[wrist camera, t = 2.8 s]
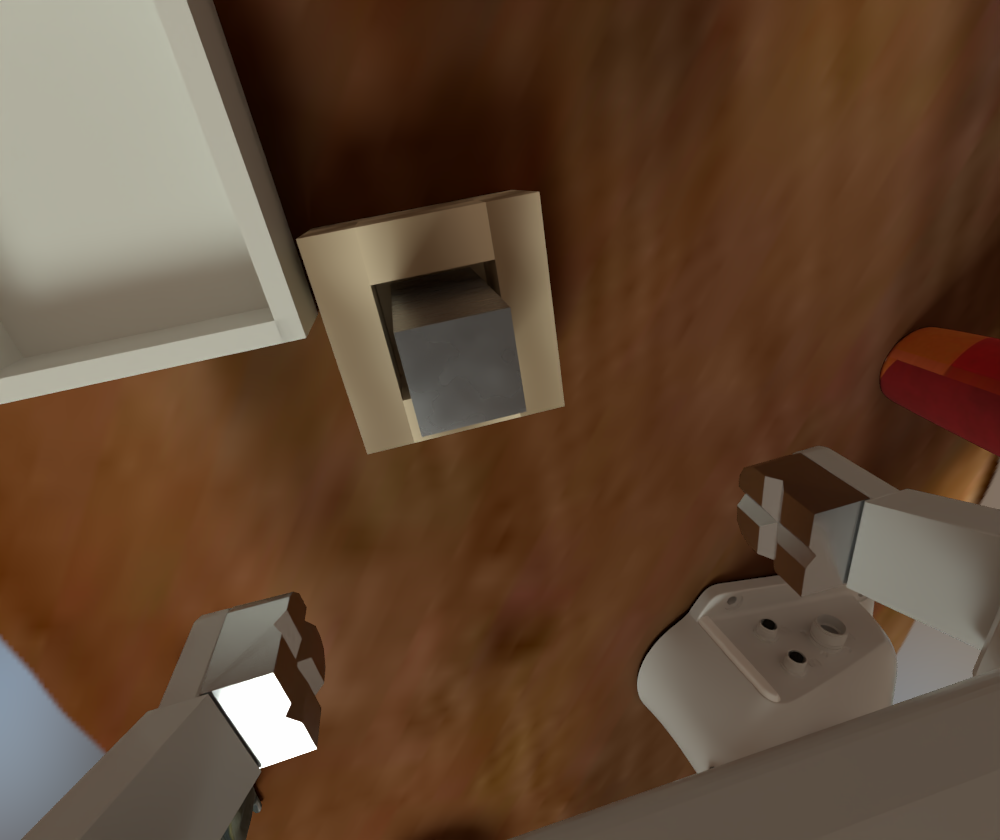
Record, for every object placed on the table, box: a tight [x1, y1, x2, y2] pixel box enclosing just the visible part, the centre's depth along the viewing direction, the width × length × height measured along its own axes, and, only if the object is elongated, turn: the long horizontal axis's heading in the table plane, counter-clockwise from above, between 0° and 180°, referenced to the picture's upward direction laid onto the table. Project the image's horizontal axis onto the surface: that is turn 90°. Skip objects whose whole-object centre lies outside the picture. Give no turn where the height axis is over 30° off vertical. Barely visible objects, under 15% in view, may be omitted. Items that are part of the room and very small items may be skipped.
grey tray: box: [0, 0, 318, 404], centre depth 19 cm, size 14×18×4 cm
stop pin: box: [390, 267, 527, 437], centre depth 22 cm, size 4×4×9 cm
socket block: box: [296, 190, 565, 454], centre depth 25 cm, size 10×10×5 cm
